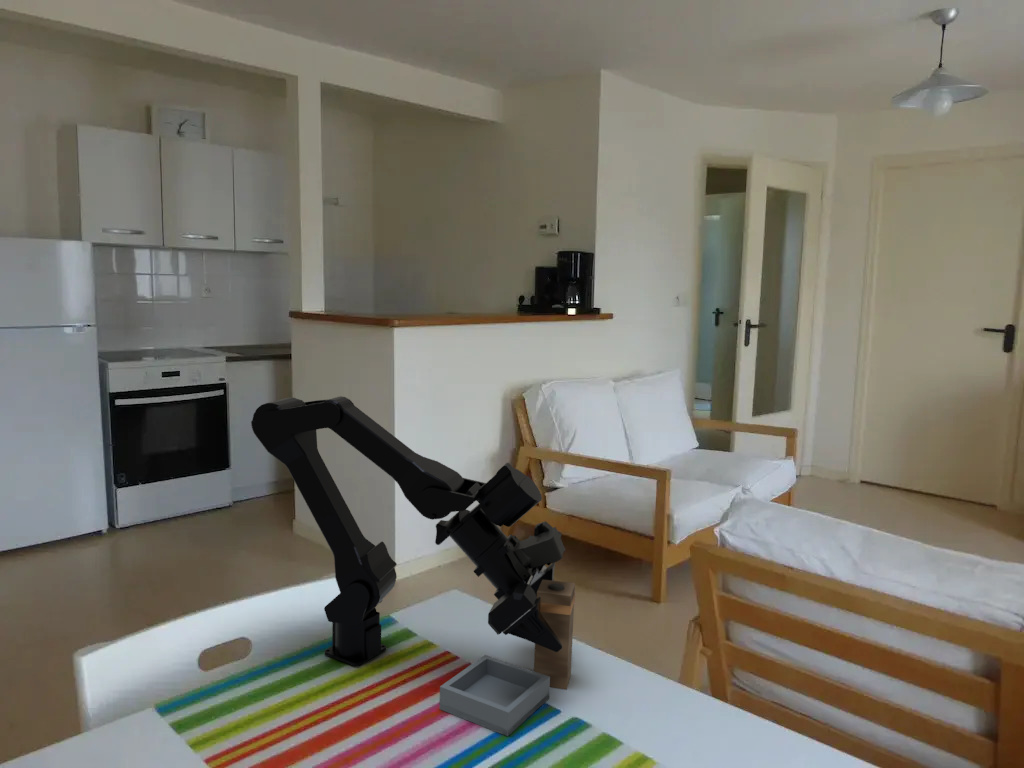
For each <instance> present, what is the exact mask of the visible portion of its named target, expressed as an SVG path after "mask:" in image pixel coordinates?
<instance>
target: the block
mask: <svg viewBox="0 0 1024 768" xmlns="http://www.w3.org/2000/svg"><path fill="white" fill-rule="evenodd" d="M575 589H576V583H575V582H567V581H558V580H554V581H551V580H542V582H541V584H540V586H539V589H538V591H537V599H538V598H539V597H540V598H541V604H540V612H541V615H542V616H543V617H544V619H545V620H546V622H547V623H548V625H549V626H550V628H551V629H552V630H553V632H554V633H555V635H556V636H557V638H558V639H559V641H560V643H561V644H562V649H561V650H559V651H558V652H555V651H552V650H550V649H547V648H545V647H543V646H540V645H538V644H536V643H534V657H533V658H534V659H533V661H534V662H533V671H535V672H538V673H541V674H544V675H547V676H550V688H552V689H553V688H554V689H558V690H559V689H560V690H567V689H568V686H569V681H570V678H571V674H572V659H573V657H572V656H573V634H574V613H575V612H574V611H575V600H576V599H575V597H576V591H575Z"/></svg>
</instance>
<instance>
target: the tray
mask: <svg viewBox="0 0 1024 768" xmlns="http://www.w3.org/2000/svg"><path fill="white" fill-rule="evenodd" d="M550 689H551V687H550V676H547V675H544V674H541V673H538V672H535V671H534V670H532V669H528V668H525V667H522V666H519V665H517V664H513V663H511V662H507V661H506V660H505V661H504V660H502V659H499V658H496V657H492V656H490V655H487V654H484V655H483V656H481V657H480V658H478V659H477V660H475V661H473V663H471V664H470V665H468V666H466V667H465V669H464V668H463V670H462V671H459V672H458V673H457V674H455V676H453V677H451V678H450V679H449V680H447V681H446V682H444V683H443V684H442V685H440V686H439V710H440V711H442V712H446V713H448V714H450V715H453V716H456V717H458V718H460V719H463V720H466V721H469V722H471V723H473V724H476V725H478V726H480V727H483V728H485V729H488V730H491V731H493V732H496V733H498V734H499V735H503V736H506V737H509V736H510V735H511V734H512V733H513V732H514V731H516V730H517V728H519V727H520V726H521V725H522V724H523V723H524V722H525V721H526V720H527V719H528V718H530V717H531V716H532V715H533V714H534V713H535V712H536V711H537V710H538V709H540V708H541V707H542V705H544V704H545V703H546V702H547V701H548V700H549V699H550Z"/></svg>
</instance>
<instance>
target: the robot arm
mask: <svg viewBox="0 0 1024 768" xmlns="http://www.w3.org/2000/svg"><path fill="white" fill-rule="evenodd" d="M250 423H251V424H250V425H251V429H252V433H253V434H254V435H255V437H256V438H257V440H258V441H259V442H260V443H261V445H262V447H264V449H265V450H266V452H267V453H268V454H270V455H271V456H272V457H274V458H275V459H277V460H278V461H279V462H280V463H282V464H283V465H284V466H285V468H287V470H288V472H289V474H290V475H291V478H292V480H293V481H294V483H295V485H296V487H297V489H298V491H299V493H300V495H301V497H302V498H303V500H304V502H305V504H306V505H307V508H308V509H309V511H310V513H311V515H312V516H313V519H314V521H315V522H316V525H317V526H318V528H319V530H320V532H321V534H322V536H323V538H324V540H325V541H326V543H327V545H328V546H329V548H330V550H331V552H332V555H333V561H334V563H333V564H334V577H335V581H336V584H337V586H338V587H337V588H338V590H339V592H340V593H339V594H338V595H336V596H335V598H333V599H332V600H331V601H329V603H327V604H326V605H325V606H324V608H323V609H324V613H325V615H326V620H327V622H329V623H331V626H332V630H331V631H332V635H331V636H332V638H331V639H332V641H331V642H332V646H330V647H328V648H326V649H324V655H325V656H327V657H329V658H333V659H335V660H338V661H340V662H343V663H344V664H345V663H346V664H348V665H351V666H352V667H359V666H361V665H363V664H364V663H366V662H368V661H370V660H371V659H373V658H374V657H376V656H379V655H380V654H382V653H383V652H385V651H387V648H388V647H387V645H385V644H384V643H382V624H380V623H381V622H380V618H381V617H380V615H381V614H380V612H379V611H377V609H376V607H378V605H379V604H381V603H382V602H383V599H384V598H386V597H387V596H388V594H389V593H390V592H391V591H392V590H393V588H394V587H395V584H396V581H397V580H396V579H397V572H396V569H395V567H396V566H397V562H396V561H394V560H393V558H392V557H391V556H390V554H389V552H388V548H387V545H386V544H385V542H384V541H380V542H378V543H377V544H376V545H375V544H373V543H372V541H370V540H368V539H367V538H366V537H365V536H364V534H363V532H362V531H361V529H360V527H359V525H358V522H357V521H356V519H355V517H354V516H353V514H352V512H351V510H350V508H349V506H348V504H347V503H346V501H345V498H344V497H343V495H342V493H341V492H340V490H339V487H338V486H337V484H336V481H335V480H334V478H333V476H332V475H331V473H330V471H329V468H328V467H327V465H326V463H325V461H324V460H323V457H322V456H321V454H320V451H319V449H318V437H317V436H318V435H317V430H321V429H330V430H331V431H332V432H334V433H335V434H336V435H338V436H339V437H340V438H342V439H343V440H344V441H345V442H346V443H348V444H349V445H350V446H351V447H353V448H354V449H355V450H356V451H358V452H360V454H362V455H363V456H364V457H366V459H368V460H369V461H371V462H372V463H373V464H375V465H376V466H377V467H378V468H380V469H381V470H382V471H383V472H385V473H386V474H387V475H388V476H389V477H391V478H392V479H393V480H394V481H395V482H396V484H397V485H398V486H399V488H400V490H401V491H402V494H403V495H404V497H405V499H406V500H407V501H408V502H409V503H410V504H411V505H412V506H413V507H414V509H415V510H416V511H417V512H418V513H419V514H420V515H421V516H422V517H424V518H426V519H429V520H431V521H432V520H439V521H438V522H437V523H436V524H435V529H436V530H435V531H436V534H435V541H434V543H435V545H437V546H440V545H441V544H442V543H443V542H444V541H446V540H447V538H451V539H452V540H453V542H454V543H455V544H456V545H457V546H458V547H459V549H460V550H461V551H462V552H463V553H464V554H465V555H466V556H467V558H468V559H469V560H470V561H471V562H472V564H473V565H474V566H475V568H474V570H473V573H474V574H475V575H476V576H477V578H479V577H480V576H482V575H483V576H484V577H485V578H486V579H487V580H488V581H489V582H490V584H491V585H492V586H493V587H494V589H496V590H495V592H494V594H493V596H494V597H495V598H496V599H497V600H496V601H495V602H494V603H493V604H492V606H491V608H490V610H489V612H488V613H487V614H488V615H487V623H488V625H489V626H490V628H492V630H493V631H494V632H495V634H496V635H500V634H504V635H505V636H507V635H508V634H509V635H511V636H514V637H517V638H521V639H522V640H526V641H528V642H531V643H533V644H535V643H536V644H538V645H540V646H543V647H545V648H547V649H550V650H552V651H555V652H558V651H559V650H561V649H562V644H561V643H560V641H559V639H558V638H557V636H556V635H555V633H554V632H553V630H552V629H551V628H550V626H549V625H548V623H547V622H546V620H545V619H544V617H543V616H542V615H541V612H540V604H541V598H540V597H539V598H538V599H537V591H538V589H539V586H540V584H541V582H542V580H551V581H555V579H554V578H555V568H556V563H557V562H559V561H561V560H562V559H563V556H564V555H563V554H564V552H565V551H566V548H565V546H564V544H563V540H562V533H561V531H559V530H558V528H557V527H556V526H554V527H553V526H552V525H550V523H548V522H547V521H545V520H544V521H542V522H539V523H537V524H536V526H535V527H534V532H533V535H531V534H530V535H529V536H528V538H525V539H523V540H520V539H519V538H518V537H517V536H516V535H512V534H509V535H508V536H507V535H506V534H505V533H504V532H503V531H502V530H501V527H502V526H505V527H509V528H510V527H512V526H514V524H516V523H517V521H519V520H520V519H521V518H523V517H524V516H525V515H526V514H527V513H528V512H530V511H531V510H532V509H533V508H534V507H535V506H537V505H538V504H539V503H541V501H542V499H543V497H542V493H541V491H540V489H539V487H538V486H537V485H536V483H535V482H534V481H533V480H532V478H530V476H529V475H526V474H525V473H523V471H521V470H519V469H517V468H514V467H513V466H512V464H511V463H510V462H506V463H505V464H504V465H502V467H500V468H499V469H498V470H497V471H496V473H495V475H494V476H492V477H491V478H490V479H488V481H486V482H483V481H478V480H474V479H470V478H465V477H463V476H462V475H461V474H460V473H459V472H458V471H457V470H454V469H453V468H450V467H449V466H448V465H445V464H443V463H442V462H439V461H438V460H435V459H431V458H428V457H425V456H423V455H421V454H419V453H416V452H415V451H414V450H412V449H411V448H410V447H408V446H407V445H406V444H405V443H404V442H403V441H401V440H400V439H398V438H397V437H396V436H394V435H393V434H392V433H390V432H389V431H388V430H387V429H385V428H384V427H383V426H382V425H380V424H379V423H377V421H375V420H374V419H373V418H371V417H370V416H368V414H366V413H365V412H363V411H362V410H361V409H360V408H359V407H357V406H356V405H355V404H354V402H352V400H351V399H350V398H348V397H346V396H342V395H341V396H340V395H339V396H337V397H332V398H329V399H319V400H311V401H304V400H302V399H299V398H296V397H285V398H280V399H278V400H273V401H269V402H266V403H263V404H261V405H259V406H258V407H257V408H256V409H255V411H254V413H253V416H252V420H251V421H250ZM475 502H478V504H477V505H476V506H475V507H473V508H472V509H471V510H469V509H468V508H469V507H470V506H471V505H472V504H474V503H475ZM453 512H455V514H454V515H453V516H451V518H450V519H449V520H444V518H446V517H447V516H449V514H451V513H453ZM440 519H441V520H440ZM546 565H547V566H548V567H547V566H546Z"/></svg>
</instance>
